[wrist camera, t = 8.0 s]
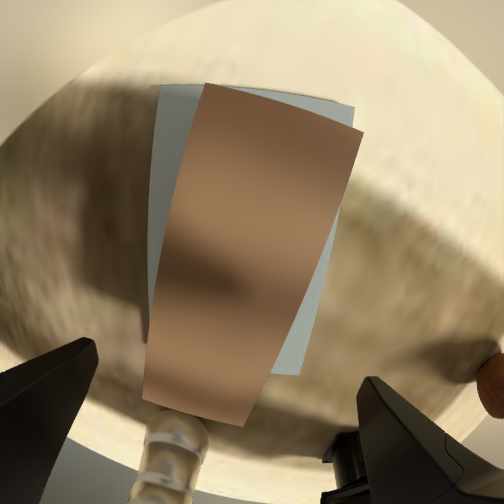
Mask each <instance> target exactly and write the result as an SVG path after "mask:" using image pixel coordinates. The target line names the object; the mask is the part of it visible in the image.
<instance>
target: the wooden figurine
mask: <svg viewBox="0 0 504 504" xmlns="http://www.w3.org/2000/svg"><path fill="white" fill-rule="evenodd" d="M476 381H477V390H478V394H479V397H480V400H481V402H482V404H483V406H484V408H485V409H486V411H487V412H488V413H489V414H490V415H491V416H492V417H494V418H498V419H504V353H501V354H498V355H495V356H493V357H492V358H490V359H489V360H488V361H487V362H486V363H485V364H484V365H483V366H482V367H481V369H480V371H479V373H478V375H477V379H476Z"/></svg>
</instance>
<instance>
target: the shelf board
mask: <svg viewBox="0 0 504 504" xmlns="http://www.w3.org/2000/svg"><path fill="white" fill-rule="evenodd" d="M363 133H364V132H362V131H359V130H357V129H355V128H352V127H350V126H347V125H345V124H342V123H340V122H337V121H335V120H332V119H330V118H327V117H324V116H322V115H319V114H316V113H313V112H310V111H308V110H305V109H302V108H299V107H296V106H293V105H290V104H286V103H283V102H280V101H277V100H273V99H270V98H266V97H263V96H259V95H256V94H252V93H248V92H244V91H240V90H236V89H232V88H228V87H223V86H219V85H214V84H209V83H205V85H204V88H203V91H202V94H201V97H200V100H199V103H198V107H197V110H196V113H195V116H194V119H193V123H192V126H191V129H190V133H189V136H188V140H187V143H186V147H185V150H184V154H183V158H182V161H181V165H180V169H179V173H178V177H177V181H176V185H175V189H174V193H173V198H172V202H171V206H170V211H169V215H168V220H167V224H166V229H165V234H164V239H163V244H162V249H161V255H160V260H159V266H158V271H157V277H156V283H155V289H154V296H153V302H152V309H151V317H150V324H149V332H148V341H147V349H146V359H145V370H144V382H143V395H142V399H144V400H147V401H150V402H152V403H155V404H158V405H161V406H164V407H168V408H171V409H174V410H177V411H181V412H184V413H187V414H191V415H195V416H198V417H202V418H206V419H210V420H214V421H218V422H223V423H227V424H231V425H236V426H241V427H243V426H244V424H245V422H246V420H247V418H248V416H249V414H250V412H251V410H252V408H253V406H254V404H255V403H256V401H257V399H258V397H259V395H260V393H261V391H262V389H263V386H264V384H265V382H266V380H267V378H268V376H269V374H270V372H271V370H272V368H273V366H274V364H275V362H276V359H277V357H278V355H279V353H280V351H281V349H282V346H283V344H284V342H285V340H286V338H287V335H288V333H289V331H290V329H291V327H292V324H293V322H294V320H295V317H296V315H297V313H298V310H299V308H300V306H301V303H302V301H303V299H304V296H305V294H306V292H307V289H308V287H309V284H310V282H311V279H312V277H313V275H314V272H315V270H316V267H317V265H318V262H319V260H320V257H321V254H322V252H323V249H324V247H325V244H326V241H327V239H328V236H329V234H330V231H331V228H332V225H333V223H334V220H335V217H336V215H337V212H338V209H339V206H340V203H341V200H342V198H343V195H344V192H345V189H346V186H347V183H348V180H349V177H350V174H351V171H352V168H353V165H354V162H355V159H356V156H357V153H358V149H359V146H360V143H361V140H362V137H363Z"/></svg>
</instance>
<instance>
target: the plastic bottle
mask: <svg viewBox="0 0 504 504" xmlns="http://www.w3.org/2000/svg"><path fill="white" fill-rule="evenodd" d="M208 448H209V434H208V431H207V429H206V427H205V426H204V424H203V423H202V421H201V420H200V419H198V418H197V417H195V416H194V415H191V414H187V413H184V412H181V411H177V410H174V409H169V410H164V411H161V412H159V413H157V414H156V415H154V416H153V418H152V419H151V421H150V422H149V424H148V426H147V427H146V432H145V437H144V449H143V453H142V458H141V462H140V466H139V471H138V475H137V477H136V480H135V484H134V485H133V487H132V490H131V492H130V495H129V498H128V500H127V501H126V503H125V504H193V503H192V500H193V495H194V489H195V485H196V482H197V478H198V475H199V471H200V468H201V465H202V463H203V461H204V459H205V457H206V454H207V451H208Z"/></svg>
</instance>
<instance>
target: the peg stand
mask: <svg viewBox="0 0 504 504" xmlns="http://www.w3.org/2000/svg"><path fill="white" fill-rule="evenodd" d="M203 88H204V86H200V85H160V92H159V98H158V105H157V113H156V120H155V129H154V138H153V147H152V158H151V171H150V186H149V205H148V249H147V255H148V299H149V318H150V317H151V309H152V302H153V296H154V289H155V283H156V277H157V271H158V266H159V260H160V255H161V249H162V244H163V239H164V234H165V229H166V224H167V220H168V215H169V211H170V206H171V202H172V198H173V193H174V189H175V185H176V181H177V177H178V173H179V169H180V165H181V161H182V158H183V154H184V150H185V147H186V143H187V140H188V136H189V133H190V129H191V126H192V123H193V119H194V116H195V113H196V110H197V107H198V103H199V100H200V97H201V94H202V91H203ZM228 88H232V89H236V90H240V91H244V92H248V93H252V94H256V95H259V96H263V97H266V98H270V99H273V100H277V101H280V102H283V103H286V104H290V105H293V106H296V107H299V108H302V109H305V110H308V111H310V112H313V113H316V114H319V115H322V116H324V117H327V118H330V119H332V120H335V121H337V122H340V123H342V124H345V125H347V126H350V127H352V126H353V118H354V109H355V107H352V106H348V105H344V104H340V103H335V102H331V101H326V100H321V99H316V98H311V97H305V96H299V95H293V94H287V93H280V92H273V91H265V90H257V89H247V88H236V87H228ZM340 205H341V203H340ZM339 210H340V206H339V209H338V212H337V215H336V217H335V220H334V223H333V225H332V228H331V231H330V234H329V236H328V239H327V241H326V244H325V247H324V249H323V252H322V254H321V257H320V260H319V262H318V265H317V267H316V270H315V272H314V275H313V277H312V279H311V282H310V284H309V287H308V289H307V292H306V294H305V296H304V299H303V301H302V303H301V306H300V308H299V310H298V313H297V315H296V317H295V320H294V322H293V324H292V327H291V329H290V331H289V333H288V335H287V338H286V340H285V342H284V344H283V346H282V349H281V351H280V353H279V355H278V357H277V359H276V362H275V364H274V366H273V368H272V370H271V372H270V373H273V374H286V375H299V373H300V370H301V367H302V363H303V360H304V357H305V353H306V350H307V346H308V343H309V339H310V336H311V332H312V329H313V325H314V321H315V317H316V314H317V310H318V306H319V302H320V298H321V294H322V290H323V286H324V281H325V277H326V273H327V268H328V264H329V260H330V255H331V250H332V246H333V241H334V236H335V231H336V226H337V221H338V216H339Z"/></svg>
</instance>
